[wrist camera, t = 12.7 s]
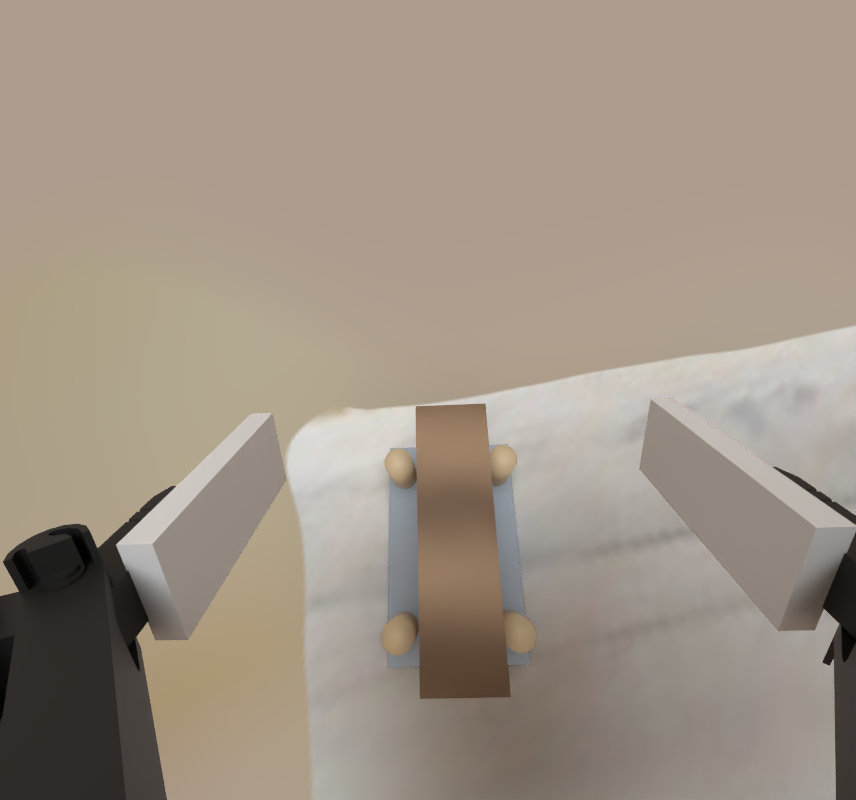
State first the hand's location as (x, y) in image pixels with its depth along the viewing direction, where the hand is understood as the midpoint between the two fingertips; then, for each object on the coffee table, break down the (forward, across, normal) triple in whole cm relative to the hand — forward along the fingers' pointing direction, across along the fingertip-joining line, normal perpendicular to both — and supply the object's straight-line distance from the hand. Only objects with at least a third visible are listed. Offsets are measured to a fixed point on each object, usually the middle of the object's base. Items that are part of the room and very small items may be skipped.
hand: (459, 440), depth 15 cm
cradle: (+14, 0, -17) cm, 22 cm away
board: (+12, 0, -16) cm, 20 cm away
